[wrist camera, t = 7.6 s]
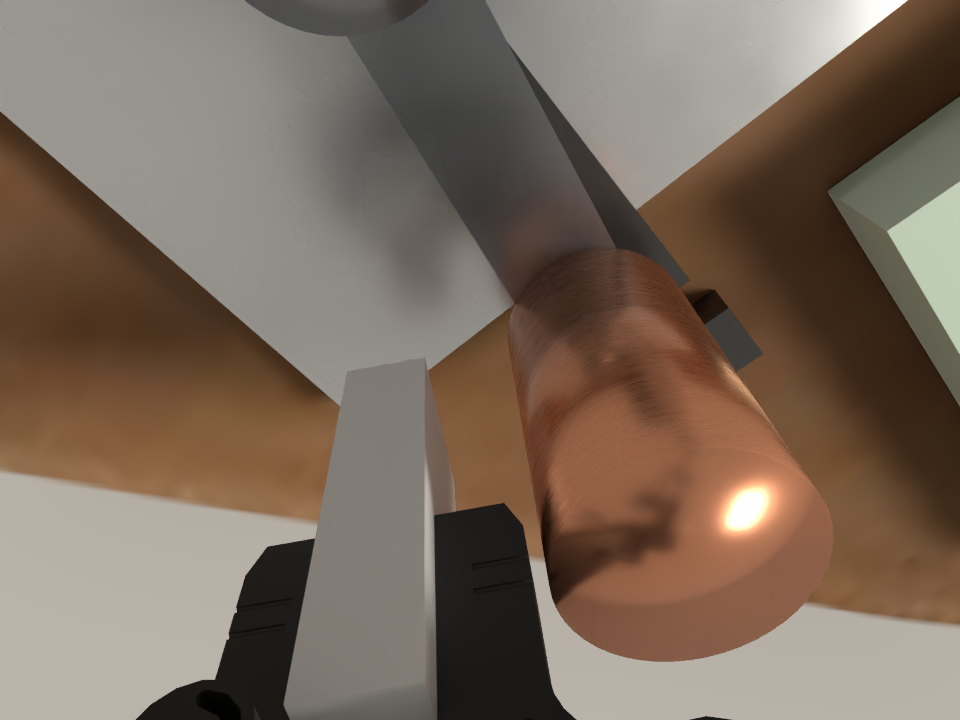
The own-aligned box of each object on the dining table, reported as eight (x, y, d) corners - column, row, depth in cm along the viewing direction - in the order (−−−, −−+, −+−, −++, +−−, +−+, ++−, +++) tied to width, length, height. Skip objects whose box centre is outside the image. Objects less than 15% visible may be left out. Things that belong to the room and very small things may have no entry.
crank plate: (-318, -212, 12) (-399, -227, 11) (317, -1310, 8) (296, -1526, 7) (490, 508, 21) (494, 544, 20) (1009, 156, 17) (1054, 173, 15)
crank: (137, -185, 12) (-261, -339, 5) (375, -377, 11) (271, -882, 4) (537, 411, 17) (596, 704, 11) (713, 322, 16) (897, 583, 10)
